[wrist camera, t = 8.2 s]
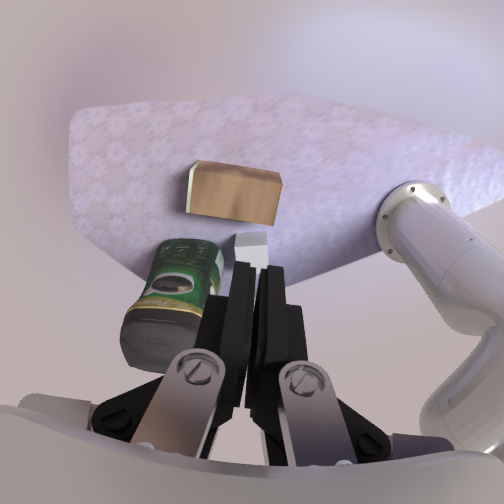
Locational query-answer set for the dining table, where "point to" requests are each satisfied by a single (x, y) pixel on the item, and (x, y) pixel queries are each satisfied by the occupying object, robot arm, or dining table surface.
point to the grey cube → (252, 249)
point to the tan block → (233, 192)
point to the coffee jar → (171, 303)
